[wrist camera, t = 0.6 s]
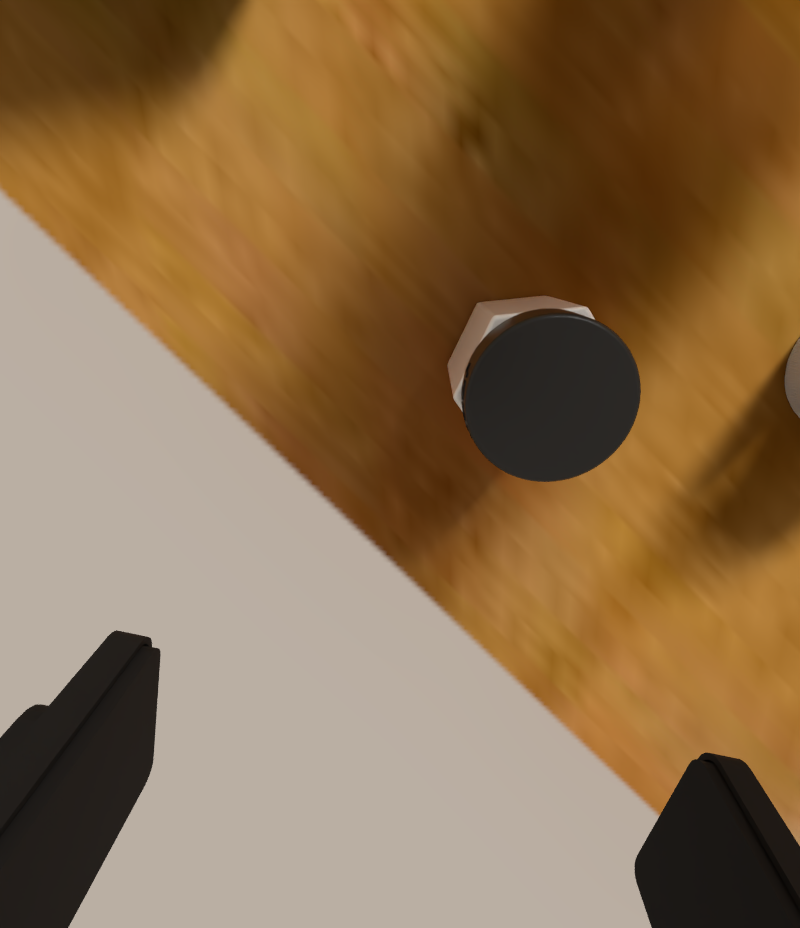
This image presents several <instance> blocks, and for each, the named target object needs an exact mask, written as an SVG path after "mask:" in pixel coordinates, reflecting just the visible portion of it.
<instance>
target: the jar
mask: <svg viewBox="0 0 800 928" xmlns="http://www.w3.org/2000/svg"><path fill="white" fill-rule="evenodd" d="M447 367H448V373H449V378H450V383H451V389H452V394H453V399H454V400H455V402H456V403H457V405H458V406H459V408H460V409H461V411H462V412H463V416H464V420H465V423H466V427H467V429H468V431H469V432H470V436H471V438H473V440H474V442H475V444H476V445H477V447H478V449H479V450H480V451H481V452H482V454H483V455H484V456H485V457H486V458H487V459H488V460H489V461H490V462H491V463H493V464H494V465H495V466H497V467H498V468H499V469H501V470H503V471H505V472H506V473H508V474H511V475H513V476H515V477H518V478H522V479H526V480H530V481H538V482H551V481H560V480H565V479H569V478H573V477H576V476H579V475H581V474H583V473H586V472H588V471H590V470H592V469H593V468H595V467H597V466H598V465H600V464H601V463H602V462H604V461H605V460H606V459H608V458H609V457H610V456H611V455H612V454H613V453H614V452H615V451H616V450H617V449H618V448H619V446H620V445H621V444H622V442H623V441H624V440H625V438H626V437H627V435H628V433H629V432H630V430H631V428H632V426H633V424H634V421H635V418H636V416H637V412H638V408H639V403H640V393H641V389H640V377H639V372H638V368H637V365H636V363H635V360H634V358H633V356H632V354H631V352H630V350H629V349H628V347H627V346H626V344H625V343H624V342H623V340H622V339H621V338H620V337H619V336H618V335H617V334H616V333H615V332H614V331H612V330H611V329H610V328H609V327H607V326H606V325H604V324H602V323H600V322H599V321H597V320H595V319H594V317H593V315H592V313H591V312H590V310H589V308H588V307H586V306H582V305H579V304H575V303H572V302H568V301H565V300H561V299H558V298H554V297H551V296H547V295H545V296H535V297H525V298H515V299H505V300H495V301H485V302H479V303H477V304H476V306H475V308H474V310H473V312H472V314H471V316H470V318H469V321H468V323H467V325H466V327H465V329H464V331H463V333H462V335H461V337H460V339H459V341H458V343H457V345H456V347H455V349H454V351H453V354H452V356H451V358H450V360H449V362H448V364H447Z"/></svg>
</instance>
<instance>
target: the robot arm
mask: <svg viewBox="0 0 800 928" xmlns="http://www.w3.org/2000/svg"><path fill="white" fill-rule="evenodd" d="M159 667H160V650H159V649H158V648H153V647H152V642H151V638H149V637H145V636H141V635H136V634H131V633H126V632H121V631H114V632H112V633H111V634H110V635H109V636H108V637H107V638H106V639H105V641H104V642H103V643H102V644H101V645H100V647H99V648H98V649H97V650H96V651H95V652H94V654H93V655H92V656H91V657H90V658H89V659H88V661H87V662H86V663H85V664H84V665H83V666H82V668H81V669H80V670H79V671H78V672H77V674H76V675H75V676H74V677H73V678H72V679H71V681H70V682H69V683H68V684H67V685H66V686H65V688H64V689H63V690H62V691H61V693H60V694H59V695H58V696H57V697H56V698H55V699H54V701H53V702H52V703H51V704H50V705H49V706H46V705H34V706H32V707H30V708H29V709H27V710H26V711H25V712H24V713H23V714H22V715H21V716H20V717H19V718H18V719H17V720H16V721H15V722H14V723H13V724H12V725H11V726H10V728H9V729H8V730H7V731H6V732H5V733H4V734H3V735H2V737H1V738H0V928H68V926H69V925H70V923H71V921H72V920H73V918H74V916H75V914H76V912H77V910H78V908H79V907H80V904H81V903H82V901H83V899H84V897H85V895H86V894H87V892H88V890H89V888H90V886H91V884H92V882H93V881H94V879H95V877H96V875H97V873H98V871H99V869H100V868H101V866H102V864H103V862H104V860H105V858H106V857H107V855H108V853H109V851H110V849H111V847H112V845H113V844H114V842H115V840H116V838H117V836H118V834H119V832H120V831H121V829H122V827H123V825H124V823H125V821H126V819H127V818H128V816H129V814H130V812H131V810H132V808H133V806H134V805H135V803H136V801H137V799H138V797H139V795H140V793H141V792H142V790H143V788H144V786H145V784H146V782H147V780H148V777H149V774H150V771H151V768H152V764H153V756H154V741H155V725H156V711H157V697H158V681H159ZM635 877H636V882H637V885H638V888H639V891H640V894H641V897H642V900H643V902H644V906H645V909H646V912H647V914H648V918H649V921H650V923H651V927H652V928H800V846H799V845H798V843H797V841H796V840H795V838H794V837H793V835H792V834H791V832H790V830H789V829H788V827H787V826H786V824H785V823H784V821H783V819H782V818H781V816H780V815H779V813H778V812H777V810H776V808H775V807H774V805H773V804H772V802H771V801H770V799H769V797H768V796H767V794H766V793H765V791H764V790H763V788H762V786H761V785H760V783H759V782H758V780H757V779H756V777H755V775H754V774H753V772H752V771H751V769H750V768H749V767H748V765H747V764H746V763H745V762H743V761H742V760H740V759H736V758H731V757H726V756H721V755H717V754H712V753H704V754H701V756H700V757H699V758H698V759H697V760H696V759H695V760H693V761H691V763H690V764H689V765H688V767H687V769H686V771H685V772H684V774H683V776H682V778H681V780H680V781H679V783H678V785H677V787H676V788H675V790H674V792H673V794H672V795H671V797H670V799H669V801H668V802H667V804H666V806H665V808H664V809H663V811H662V813H661V815H660V816H659V818H658V820H657V822H656V823H655V825H654V827H653V829H652V831H651V832H650V834H649V836H648V838H647V839H646V841H645V843H644V845H643V846H642V848H641V850H640V852H639V854H638V855H637V858H636V861H635Z"/></svg>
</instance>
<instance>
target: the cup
mask: <svg viewBox="0 0 800 928" xmlns="http://www.w3.org/2000/svg"><path fill="white" fill-rule="evenodd" d="M784 382H785V390H786V394H787V395H786V396H787V399H788V401H789V403H790V405H791V408H793V410H794V412H795V413H796V414H797V415H798V416H799V418H800V338H799V339H798V341H797V342H796V344H795V346H794V347H793V349H792V352H791V353H790V356H789V359H788V362H787V366H786V375H785V377H784Z"/></svg>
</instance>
